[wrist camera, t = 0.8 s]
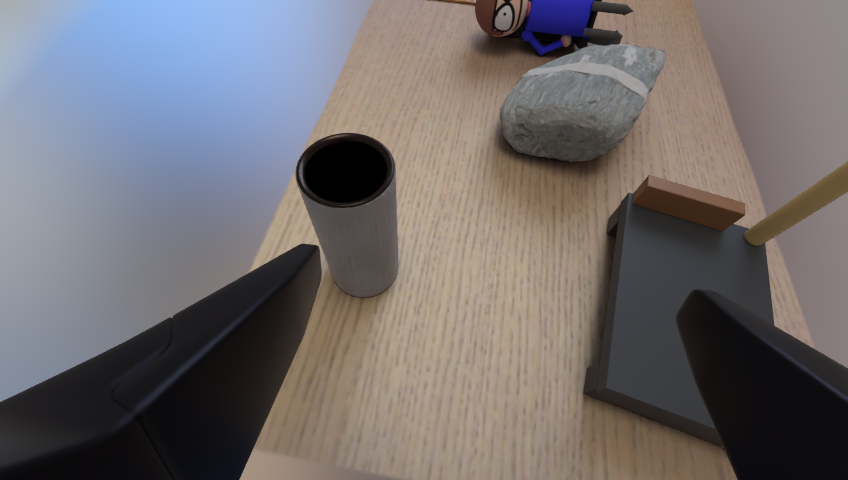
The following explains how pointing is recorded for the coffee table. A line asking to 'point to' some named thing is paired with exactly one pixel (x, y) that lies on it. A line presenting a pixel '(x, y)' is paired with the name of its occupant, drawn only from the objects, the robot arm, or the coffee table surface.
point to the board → (463, 1)
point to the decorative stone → (580, 101)
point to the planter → (353, 209)
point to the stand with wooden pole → (682, 289)
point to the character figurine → (549, 21)
